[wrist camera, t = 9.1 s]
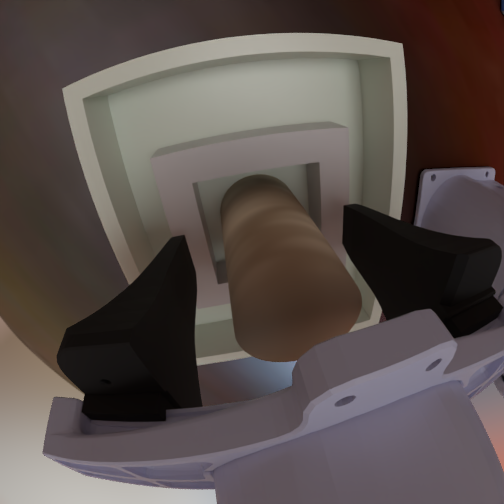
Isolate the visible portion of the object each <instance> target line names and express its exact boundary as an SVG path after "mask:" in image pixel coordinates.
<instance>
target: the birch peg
mask: <svg viewBox="0 0 504 504" xmlns="http://www.w3.org/2000/svg"><path fill="white" fill-rule="evenodd" d="M220 214H221V224H222V233H223V243H224V252H225V261H226V270H227V278H228V287H229V295H230V303H231V311H232V319H233V326H234V333H235V338H236V340H237V343H238V344H239V346H240V347H241V348H242V349H243V350H244V351H245V352H246V353H248V354H249V355H251V356H253V357H255V358H258V359H261V360H265V361H271V362H289V361H296V360H298V359H299V358H300V357H301V356H302V355H303V354H304V353H306V352H307V351H308V350H309V349H311V348H312V347H313V346H314V345H316V344H319V343H321V342H323V341H326V340H328V339H330V338H333V337H335V336H339V335H342V334H346V333H348V332H349V331H350V330H351V328H352V327H353V326H354V324H355V323H356V321H357V319H358V317H359V315H360V311H361V307H362V296H361V292H360V290H359V288H358V286H357V285H356V283H355V282H354V280H353V278H352V277H351V275H350V274H349V272H348V271H347V269H346V268H345V266H344V265H343V263H342V262H341V260H340V259H339V257H338V256H337V254H336V253H335V251H334V250H333V249H332V247H331V246H330V244H329V243H328V241H327V240H326V238H325V237H324V236H323V234H322V233H321V231H320V230H319V228H318V227H317V226H316V224H315V223H314V221H313V220H312V219H311V217H310V216H309V215H308V213H307V212H306V210H305V209H304V208H303V206H302V205H301V204H300V202H299V201H298V200H297V198H296V197H295V196H294V194H293V193H292V192H291V190H290V189H289V188H288V186H287V185H286V184H285V183H284V182H282V181H281V180H279V179H278V178H276V177H273V176H270V175H265V174H256V175H250V176H247V177H244V178H242V179H240V180H238V181H237V182H235V183H234V184H233V185H232V186H231V187H230V188H229V189H228V190H227V192H226V193H225V195H224V197H223V199H222V202H221V208H220Z"/></svg>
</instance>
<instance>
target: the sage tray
mask: <svg viewBox="0 0 504 504" xmlns="http://www.w3.org/2000/svg"><path fill="white" fill-rule="evenodd" d="M62 90H63V95H64V100H65V105H66V109H67V114H68V118H69V122H70V126H71V130H72V134H73V138H74V142H75V145H76V149H77V152H78V156H79V159H80V163H81V166H82V169H83V172H84V175H85V178H86V181H87V184H88V187H89V190H90V193H91V196H92V199H93V201H94V204H95V207H96V209H97V212H98V215H99V217H100V220H101V222H102V225H103V227H104V230H105V232H106V235H107V237H108V239H109V242H110V244H111V246H112V249H113V251H114V253H115V256H116V258H117V260H118V262H119V264H120V266H121V269H122V271H123V273H124V275H125V277H126V279H127V281H128V283H129V285H130V284H131V283H132V282H133V281H134V280H135V279H136V278H137V277H138V276H139V275H140V274H141V273H142V272H143V271H144V270H145V268H146V267H147V266H148V265H149V264H150V263H151V262H152V260H153V259H154V258H155V257H156V255H157V254H158V253H159V252H160V250H161V249H162V248H163V247H164V245H165V244H166V243H167V242H168V240H169V239H170V238H171V237H175V236H180V235H185V238H186V241H187V244H188V248H189V251H190V254H191V257H192V261H193V264H194V267H195V270H196V278H197V303H196V319H195V350H196V362H197V365H203V364H210V363H216V362H223V361H229V360H235V359H241V358H246V357H251V355H249V354H248V353H246V352H245V351H244V350H243V349H242V348H241V347H240V346H239V344H238V343H237V340H236V338H235V333H234V326H233V319H232V311H231V303H230V295H229V287H228V278H227V270H226V261H225V252H224V243H223V233H222V224H221V214H220V208H221V202H222V199H223V197H224V195H225V193H226V192H227V190H228V189H229V188H230V187H231V186H232V185H233V184H234V183H235V182H237V181H238V180H240V179H242V178H244V177H247V176H250V175H256V174H265V175H270V176H273V177H276V178H278V179H279V180H281V181H282V182H284V183H285V184H286V185H287V186H288V188H289V189H290V190H291V192H292V193H293V194H294V196H295V197H296V198H297V200H298V201H299V202H300V204H301V205H302V206H303V208H304V209H305V210H306V212H307V213H308V215H309V216H310V217H311V219H312V220H313V221H314V223H315V224H316V226H317V227H318V228H319V230H320V231H321V233H322V234H323V236H324V237H325V238H326V240H327V241H328V243H329V244H330V246H331V247H332V249H333V250H334V251H335V253H336V254H337V256H338V257H339V259H340V260H341V262H342V263H343V265H344V266H345V268H346V269H347V271H348V272H349V274H350V275H351V277H352V278H353V280H354V282H355V283H356V285H357V286H358V288H359V290H360V292H361V296H362V307H361V311H360V315H359V317H358V319H357V321H356V323H355V324H354V326H353V327H352V328H351V330H350V331H349V332H353V331H356V330H359V329H363V328H366V327H369V326H372V325H375V324H378V323H379V320H380V316H381V312H382V309H381V307H380V305H379V303H378V301H377V299H376V297H375V295H374V294H373V292H372V290H371V289H370V288H369V286H368V285H367V283H366V282H365V280H364V279H363V277H362V276H361V274H360V273H359V272H358V270H357V269H356V267H355V266H354V264H353V263H352V261H351V260H350V258H349V256H348V254H347V252H346V250H345V248H344V246H343V244H342V234H343V205H349V204H359V205H363V206H365V207H368V208H371V209H373V210H376V211H378V212H381V213H383V214H386V215H388V216H391V217H393V218H396V219H398V220H400V218H401V210H402V202H403V193H404V182H405V170H406V152H407V91H406V75H405V63H404V53H403V45H402V44H401V43H396V42H391V41H385V40H379V39H373V38H366V37H358V36H348V35H337V34H319V33H277V34H260V35H248V36H238V37H230V38H223V39H216V40H210V41H204V42H199V43H194V44H189V45H184V46H180V47H176V48H171V49H167V50H164V51H160V52H156V53H153V54H149V55H146V56H142V57H139V58H136V59H133V60H130V61H127V62H124V63H121V64H118V65H116V66H113V67H110V68H108V69H105V70H103V71H100V72H98V73H95V74H93V75H91V76H88V77H86V78H84V79H82V80H79V81H77V82H75V83H73V84H71V85H69V86H67V87H65V88H63V89H62ZM349 332H348V333H349Z"/></svg>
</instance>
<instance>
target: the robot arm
mask: <svg viewBox="0 0 504 504" xmlns="http://www.w3.org/2000/svg"><path fill="white" fill-rule="evenodd" d="M431 176H432V178H431ZM494 178H495V169H494V168H492V167H464V168H441V169H426V170H423V171H422V173H421V175H420V183H419V191H418V199H417V207H416V213H415V220H414V225H412V224H409V223H406V222H404V221H401V220H398V219H396V218H393V217H391V216H388V215H386V214H383V213H381V212H378V211H376V210H373V209H371V208H368V207H365V206H363V205H359V204H349V205H343V234H342V244H343V246H344V248H345V250H346V252H347V254H348V256H349V258H350V260H351V261H352V263H353V264H354V266H355V267H356V269H357V270H358V272H359V273H360V274H361V276H362V277H363V279H364V280H365V282H366V283H367V285H368V286H369V288H370V289H371V290H372V292H373V294H374V295H375V297H376V299H377V301H378V303H379V305H380V307H381V309H382V311H383V313H384V315H385V317H386V320H387V321H384V322H381V323H378V324H375V325H372V326H369V327H366V328H363V329H359V330H356V331H353V332H349V333H346V334H342V335H339V336H335V337H333V338H330V339H328V340H326V341H323V342H321V343H319V344H316V345H314V346H313V347H312V348H311V349H309V350H308V351H307V352H306V353H304V354H303V355H302V356H301V357H300V358H299V359H298V360H297V362H296V365H295V367H294V369H293V372H292V382H293V384H292V386H290V387H288V388H285V389H283V390H280V391H277V392H275V393H272V394H269V395H266V396H264V397H261V398H258V399H253V400H248V401H241V402H235V403H228V404H221V405H213V406H205V407H203V406H202V401H201V394H200V387H199V380H198V371H197V362H196V350H195V319H196V303H197V278H196V270H195V267H194V264H193V261H192V257H191V254H190V251H189V248H188V244H187V241H186V238H185V235H180V236H175V237H171V238H170V239H169V240H168V242H167V243H166V244H165V245H164V247H163V248H162V249H161V250H160V252H159V253H158V254H157V255H156V257H155V258H154V259H153V260H152V262H151V263H150V264H149V265H148V266H147V267H146V268H145V270H144V271H143V272H142V273H141V274H140V275H139V276H138V277H137V278H136V279H135V280H134V281H133V282H132V283H131V284H130V285H129V286H128V287H127V288H126V289H125V290H124V291H123V292H121V293H120V294H119V295H118V296H116V297H115V298H114V299H113V300H112V301H110V302H109V303H108V304H106V305H105V306H104V307H102V308H101V309H99V310H98V311H96V312H95V313H93V314H92V315H90V316H88V317H87V318H85V319H83V320H82V321H80V322H78V323H76V324H74V325H72V326H71V327H69V328H67V329H66V332H65V334H64V337H63V340H62V342H61V345H60V348H59V351H58V354H57V363H58V365H59V367H60V369H61V370H62V371H63V373H64V374H65V375H66V376H67V377H68V378H69V379H70V380H71V381H72V382H73V383H74V384H75V385H76V386H77V387H78V388H79V389H80V390H81V391H82V392H84V393H85V396H84V401H81V400H79V399H75V398H65V397H54V398H53V402H52V406H51V411H50V415H49V420H48V425H47V430H46V435H45V441H44V448H43V454H44V456H46V457H48V458H50V459H52V460H54V461H56V462H58V463H60V464H62V465H64V466H66V467H68V468H70V469H72V470H74V471H77V472H79V473H81V474H83V475H86V476H90V477H95V478H101V479H106V480H112V481H117V482H123V483H129V484H136V485H144V486H153V487H163V488H178V489H215V491H216V499H217V504H504V472H503V469H502V467H501V464H500V461H499V459H498V457H497V454H496V452H495V450H494V447H493V445H492V443H491V441H490V438H489V436H488V434H487V432H486V430H485V428H484V426H483V424H482V422H481V420H480V418H479V416H478V414H477V412H476V410H475V408H474V406H473V405H472V403H471V401H470V400H471V399H472V398H474V397H475V396H476V395H478V394H479V393H480V392H482V391H483V390H484V389H485V388H486V387H488V386H489V385H490V384H491V383H493V382H494V384H495V386H496V388H497V389H498V391H499V392H500V394H501V395H502V396H503V397H504V186H503V185H501V184H500V183H498V182H496V181H495V180H494Z"/></svg>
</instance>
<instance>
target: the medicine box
mask: <svg viewBox="0 0 504 504" xmlns="http://www.w3.org/2000/svg"><path fill="white" fill-rule="evenodd" d="M501 12H502V13H503V15H504V0H501Z"/></svg>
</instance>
